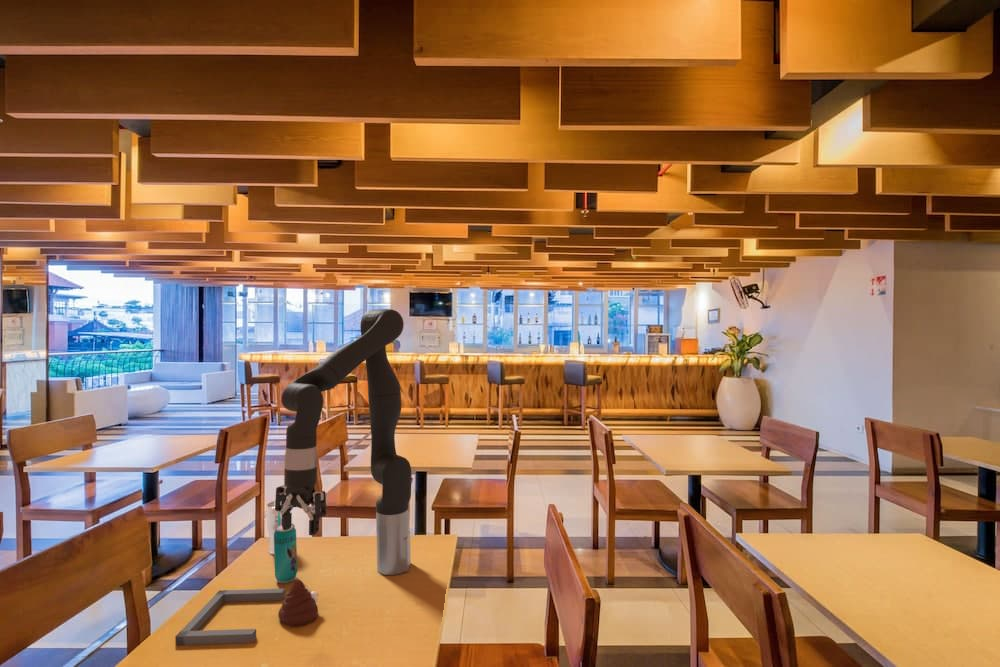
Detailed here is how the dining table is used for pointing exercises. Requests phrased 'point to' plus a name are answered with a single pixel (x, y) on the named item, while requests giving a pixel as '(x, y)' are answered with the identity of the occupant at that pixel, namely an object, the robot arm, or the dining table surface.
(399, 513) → the robot arm
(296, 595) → the poop emoji
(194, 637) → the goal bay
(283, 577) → the beverage can
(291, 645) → the dining table surface
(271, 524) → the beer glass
